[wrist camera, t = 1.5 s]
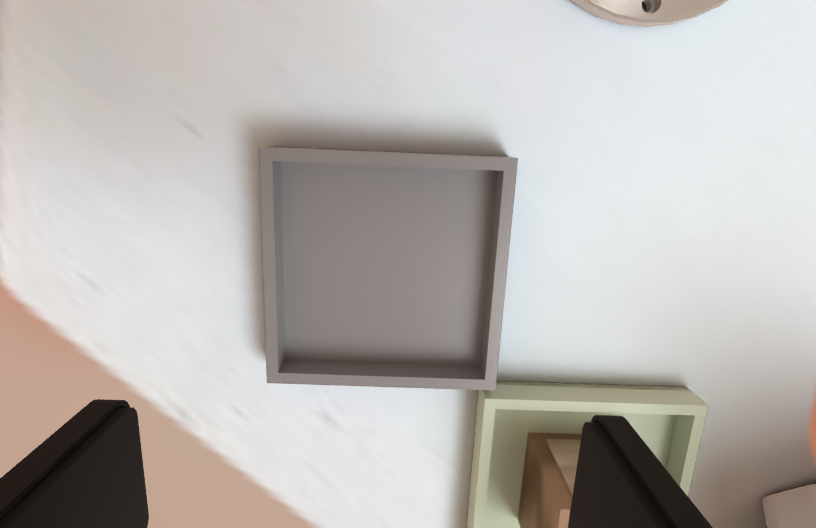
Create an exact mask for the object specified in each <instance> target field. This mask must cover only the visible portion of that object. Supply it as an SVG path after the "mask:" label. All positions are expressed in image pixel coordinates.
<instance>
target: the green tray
mask: <svg viewBox="0 0 816 528" xmlns="http://www.w3.org/2000/svg"><path fill="white" fill-rule="evenodd" d="M707 409H708V405H707V404H706V403H704V402H703V401H702V400H701V399H700V398H699V397H698V396H696V395H695V394H694V393H693V392H692V391H691V390H690V389H688V388H687V387H664V386H634V385H604V384H574V383H544V382H514V381H496V389H495V390H479V391H478V402H477V414H476V425H475V436H474V448H473V459H472V471H471V482H470V494H469V505H468V516H467V528H520V525H519V522H518V512H519V503H520V495H521V486H522V478H523V470H524V461H525V453H526V444H527V436H528V432H533V433H565V434H582V429H583V425H584V423H585V422H591V419H592V418H593V416H595V415H612V416H623V417H624V418H626V419H627V421H628V422H629V423H630V425H631V426H632V427H633V428H634V430H635V431H636V432H637V433H638V435H639V436H640V437H641V438H642V440H643V441H644V442H645V443H646V445H647V446H648V447H649V448H650V450H651V451H652V452H653V453H654V455H655V456H656V457H657V459H658V460H659V461H660V462H661V464H662V465H663V466H664V467H665V469H666V470H667V471H668V472H669V474H670V475H671V476H672V477H673V479H674V480H675V481H676V482H677V484H678V485H679V486H680V487H681V489H682V490H683V491H684V492H685V494H686V495H687V496H688V495H689V490H690V486H691V481H692V477H693V472H694V468H695V463H696V459H697V454H698V450H699V445H700V441H701V436H702V432H703V427H704V423H705V418H706V414H707Z"/></svg>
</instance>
